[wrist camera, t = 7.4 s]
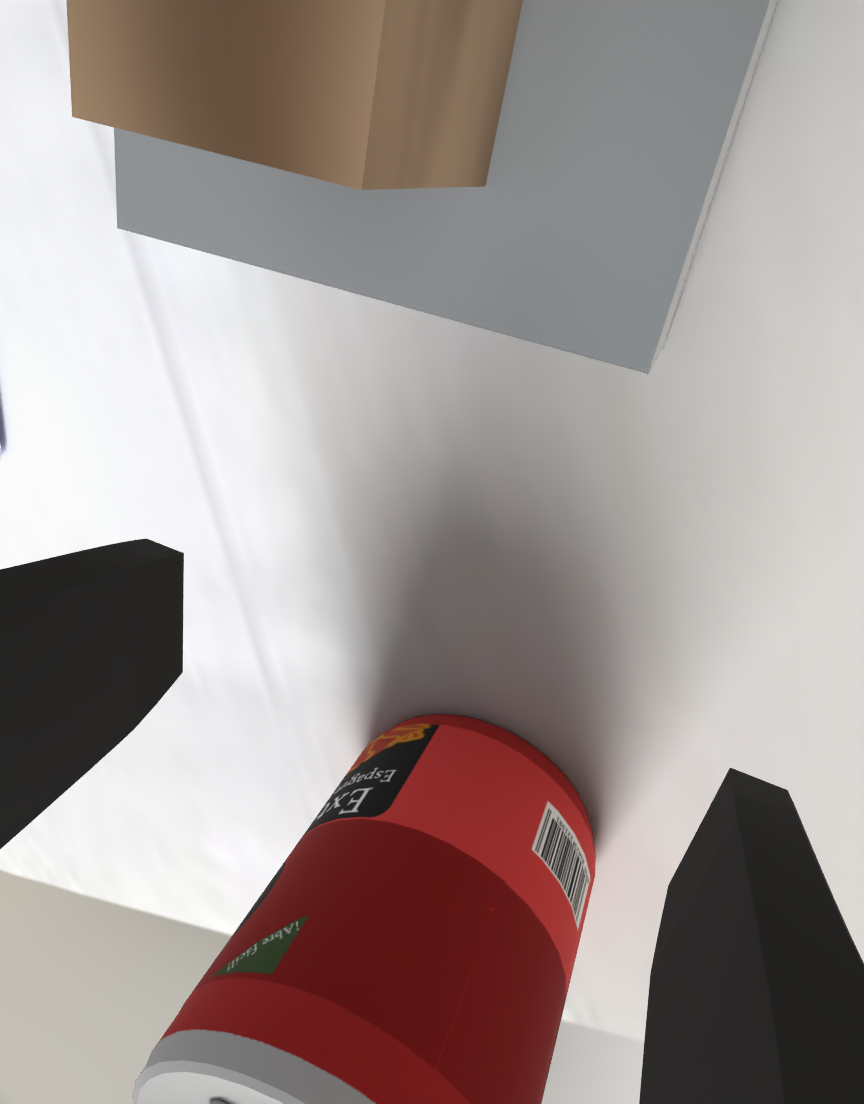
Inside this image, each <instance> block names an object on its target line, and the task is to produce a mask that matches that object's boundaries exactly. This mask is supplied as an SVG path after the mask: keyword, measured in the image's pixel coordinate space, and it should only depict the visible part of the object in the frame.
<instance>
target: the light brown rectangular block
mask: <svg viewBox="0 0 864 1104" xmlns="http://www.w3.org/2000/svg"><path fill="white" fill-rule="evenodd" d="M522 3H523V0H67V17H68V38H69V58H70V79H71V100H72V117H75V118H79V119H83V120H87V121H91V122H95V123H99V124H103V125H107V126H111V127H115V128H119V129H123V130H127V131H131V132H135V133H139V134H142V135H146V136H150V137H154V138H158V139H162V140H166V141H170V142H174V143H178V144H182V145H186V146H190V147H194V148H198V149H202V150H206V151H210V152H214V153H217V154H221V155H225V156H229V157H233V158H237V159H241V160H245V161H249V162H253V163H257V164H261V165H265V166H269V167H273V168H277V169H281V170H285V171H289V172H293V173H296V174H300V175H304V176H308V177H312V178H316V179H320V180H324V181H328V182H332V183H336V184H340V185H344V186H348V187H352V188H356V189H360V190H379V189H414V188H450V187H485V186H486V181H487V176H488V171H489V166H490V161H491V156H492V152H493V147H494V142H495V137H496V132H497V127H498V122H499V117H500V112H501V107H502V102H503V97H504V92H505V87H506V82H507V77H508V72H509V68H510V63H511V58H512V53H513V48H514V43H515V38H516V33H517V28H518V23H519V18H520V13H521V8H522Z"/></svg>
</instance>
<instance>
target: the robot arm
mask: <svg viewBox="0 0 864 1104" xmlns="http://www.w3.org/2000/svg"><path fill="white" fill-rule="evenodd" d="M1 455H2V452H1V444H0V460H1ZM183 569H184V553H182V552H179V551H177V550H174V549H171V548H169V547H166V546H164V545H161V544H159V543H156V542H154V541H151V540H149V539H140V540H134V541H127V542H121V543H116V544H111V545H106V546H101V547H97V548H92V549H88V550H83V551H79V552H74V553H70V554H66V555H61V556H57V557H53V558H49V559H44V560H40V561H36V562H31V563H27V564H23V565H19V566H14V567H10V568H6V569H1V570H0V849H1V848H2V847H3V846H4V845H6V844H7V843H8V842H9V841H10V840H11V839H12V838H13V837H15V836H16V835H17V834H18V833H19V832H20V831H21V830H22V829H24V828H25V827H26V826H27V825H28V824H29V823H30V822H31V821H33V820H34V819H35V818H36V817H37V816H38V815H39V814H40V813H42V812H43V811H44V810H45V809H46V808H47V807H48V806H49V805H51V804H52V803H53V802H54V801H55V800H56V799H57V798H58V797H60V796H61V795H62V794H63V793H64V792H65V791H66V790H67V789H69V788H70V787H71V786H72V785H73V784H74V783H75V782H76V781H78V780H79V779H80V778H81V777H82V776H83V775H84V774H85V773H87V772H88V771H89V770H90V769H91V768H92V767H93V766H94V765H95V764H97V763H98V762H99V761H100V760H101V759H102V758H103V757H104V756H105V755H106V754H108V753H109V752H110V751H111V750H112V749H113V748H114V747H115V746H116V745H117V744H119V743H120V742H121V741H122V740H123V739H124V738H125V737H126V736H127V735H128V734H129V733H130V732H131V731H133V730H134V729H135V727H136V726H137V725H138V724H139V723H140V722H141V721H142V720H143V718H144V717H145V716H146V715H147V714H148V713H149V712H150V711H151V709H152V708H153V707H154V706H155V705H156V704H157V703H158V701H159V700H160V699H161V698H162V697H163V695H164V694H165V693H166V692H167V691H168V689H169V688H170V687H171V686H172V685H173V683H174V682H175V681H176V680H177V678H178V677H179V676H180V675H181V674H182V672H183ZM640 1104H864V963H863V961H862V959H861V957H860V954H859V952H858V950H857V948H856V946H855V944H854V942H853V940H852V938H851V935H850V933H849V931H848V929H847V926H846V924H845V922H844V920H843V918H842V915H841V913H840V911H839V909H838V906H837V904H836V902H835V899H834V897H833V895H832V893H831V890H830V888H829V886H828V883H827V881H826V879H825V876H824V874H823V872H822V869H821V867H820V865H819V862H818V860H817V858H816V855H815V853H814V851H813V848H812V846H811V843H810V841H809V839H808V836H807V834H806V831H805V829H804V827H803V824H802V822H801V819H800V817H799V815H798V812H797V810H796V808H795V805H794V803H793V801H792V799H791V797H790V795H789V793H788V791H787V790H786V789H783V788H781V787H778V786H775V785H773V784H770V783H768V782H765V781H763V780H760V779H758V778H755V777H753V776H750V775H747V774H745V773H742V772H740V771H737V770H735V769H732V768H730V769H729V771H728V773H727V775H726V777H725V779H724V780H723V782H722V784H721V786H720V788H719V790H718V792H717V794H716V796H715V798H714V800H713V801H712V803H711V805H710V807H709V809H708V811H707V813H706V815H705V817H704V819H703V821H702V822H701V824H700V826H699V828H698V830H697V832H696V834H695V836H694V838H693V840H692V842H691V843H690V845H689V847H688V849H687V851H686V853H685V855H684V857H683V859H682V861H681V863H680V864H679V866H678V868H677V870H676V872H675V874H674V876H673V878H672V880H671V882H670V884H669V886H668V890H667V895H666V900H665V904H664V909H663V914H662V919H661V923H660V928H659V933H658V938H657V943H656V948H655V953H654V958H653V964H652V969H651V976H650V987H649V997H648V1009H647V1020H646V1031H645V1043H644V1055H643V1067H642V1078H641V1092H640Z"/></svg>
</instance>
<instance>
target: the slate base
mask: <svg viewBox="0 0 864 1104" xmlns="http://www.w3.org/2000/svg"><path fill="white" fill-rule="evenodd" d="M777 3H778V0H523V3H522V8H521V13H520V18H519V23H518V28H517V33H516V38H515V43H514V48H513V53H512V58H511V63H510V68H509V72H508V77H507V82H506V87H505V92H504V97H503V102H502V107H501V112H500V117H499V122H498V127H497V132H496V137H495V142H494V147H493V152H492V156H491V161H490V166H489V171H488V176H487V181H486V186H485V187H450V188H414V189H379V190H360V189H356V188H352V187H348V186H344V185H340V184H336V183H332V182H328V181H324V180H320V179H316V178H312V177H308V176H304V175H300V174H296V173H293V172H289V171H285V170H281V169H277V168H273V167H269V166H265V165H261V164H257V163H253V162H249V161H245V160H241V159H237V158H233V157H229V156H225V155H221V154H217V153H214V152H210V151H206V150H202V149H198V148H194V147H190V146H186V145H182V144H178V143H174V142H170V141H166V140H162V139H158V138H154V137H150V136H146V135H142V134H139V133H135V132H131V131H127V130H123V129H119V128H115V127H114V139H115V169H116V199H117V228H119V229H123V230H127V231H130V232H134V233H138V234H141V235H145V236H149V237H152V238H156V239H159V240H163V241H167V242H170V243H174V244H178V245H181V246H185V247H189V248H192V249H196V250H199V251H203V252H207V253H210V254H214V255H218V256H221V257H225V258H229V259H232V260H236V261H240V262H243V263H247V264H250V265H254V266H258V267H261V268H265V269H269V270H272V271H276V272H280V273H283V274H287V275H291V276H294V277H298V278H301V279H305V280H309V281H312V282H316V283H320V284H323V285H327V286H331V287H334V288H338V289H342V290H345V291H349V292H352V293H356V294H360V295H363V296H367V297H371V298H374V299H378V300H382V301H385V302H389V303H392V304H396V305H400V306H403V307H407V308H411V309H414V310H418V311H422V312H425V313H429V314H433V315H436V316H440V317H443V318H447V319H451V320H454V321H458V322H462V323H465V324H469V325H473V326H476V327H480V328H484V329H487V330H491V331H494V332H498V333H502V334H505V335H509V336H513V337H516V338H520V339H524V340H527V341H531V342H534V343H538V344H542V345H545V346H549V347H553V348H556V349H560V350H564V351H567V352H571V353H575V354H578V355H582V356H585V357H589V358H593V359H596V360H600V361H604V362H607V363H611V364H615V365H618V366H622V367H626V368H629V369H633V370H636V371H640V372H644V373H647V374H648V373H649V371H650V370H651V368H652V366H653V365H654V363H655V361H656V360H657V358H658V356H659V355H660V353H661V351H662V350H663V348H664V345H665V342H666V339H667V335H668V332H669V329H670V326H671V323H672V320H673V317H674V314H675V311H676V308H677V305H678V302H679V299H680V296H681V293H682V290H683V287H684V284H685V281H686V278H687V275H688V272H689V269H690V266H691V263H692V260H693V257H694V254H695V251H696V248H697V245H698V242H699V239H700V236H701V233H702V230H703V227H704V224H705V221H706V218H707V215H708V212H709V209H710V206H711V203H712V200H713V197H714V194H715V191H716V188H717V185H718V181H719V178H720V175H721V172H722V169H723V166H724V163H725V160H726V157H727V154H728V151H729V148H730V145H731V142H732V139H733V136H734V133H735V130H736V127H737V124H738V121H739V118H740V115H741V112H742V109H743V106H744V103H745V100H746V97H747V94H748V91H749V88H750V85H751V82H752V79H753V76H754V73H755V70H756V67H757V64H758V61H759V58H760V55H761V52H762V49H763V46H764V43H765V40H766V37H767V34H768V31H769V27H770V24H771V21H772V18H773V15H774V12H775V9H776V6H777Z"/></svg>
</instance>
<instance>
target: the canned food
mask: <svg viewBox="0 0 864 1104" xmlns="http://www.w3.org/2000/svg"><path fill="white" fill-rule="evenodd" d="M594 877H595V848H594V841H593V833H592V829H591V825H590V821H589V817H588V813H587V811H586V809H585V807H584V805H583V803H582V801H581V799H580V796H579V794H578V793H577V791H576V790H575V789H574V787H573V786H572V785H571V783H570V782H569V780H568V779H567V778H566V776H565V775H564V774H563V773H562V772H561V771H560V770H559V769H558V768H557V767H556V766H555V765H554V764H553V763H552V762H551V761H550V760H549V759H548V758H547V757H546V756H545V755H543V754H542V753H541V752H539V751H538V750H537V749H535V748H534V747H533V746H531V745H530V744H529V743H527V742H526V741H524V740H523V739H521V738H519V737H517V736H515V735H513V734H512V733H510V732H508V731H506V730H504V729H502V728H500V727H497V726H494V725H492V724H489V723H486V722H484V721H481V720H477V719H472V718H468V717H463V716H458V715H442V714H433V715H426V716H419V717H414V718H412V719H409V720H406V721H404V722H401V723H399V724H397V725H396V726H394V727H392V728H391V729H389V730H388V731H386V732H385V733H383V734H382V735H380V736H379V737H378V738H376V739H375V740H373V741H372V742H371V743H369V744H368V745H367V747H366V748H365V749H364V751H363V752H362V753H361V755H360V756H359V757H358V759H357V760H356V762H355V763H354V765H353V766H352V767H351V769H350V770H349V772H348V773H347V774H346V776H345V777H344V779H343V780H342V781H341V783H340V784H339V786H338V787H337V789H336V790H335V791H334V793H333V794H332V796H331V797H330V798H329V800H328V801H327V803H326V804H325V805H324V807H323V808H322V810H321V811H320V813H319V814H318V815H317V817H316V818H315V820H314V821H313V822H312V824H311V825H310V827H309V828H308V830H307V831H306V832H305V834H304V835H303V837H302V838H301V839H300V841H299V842H298V844H297V845H296V846H295V848H294V849H293V851H292V852H291V854H290V855H289V856H288V858H287V859H286V861H285V862H284V863H283V865H282V866H281V868H280V869H279V870H278V872H277V873H276V875H275V876H274V878H273V879H272V880H271V882H270V883H269V885H268V886H267V887H266V889H265V890H264V892H263V893H262V894H261V896H260V897H259V899H258V900H257V902H256V903H255V904H254V906H253V907H252V909H251V910H250V911H249V913H248V914H247V916H246V917H245V918H244V920H243V921H242V923H241V924H240V926H239V927H238V928H237V930H236V931H235V933H234V934H233V935H232V937H231V938H230V940H229V941H228V943H227V944H226V945H225V947H224V949H223V950H222V951H221V952H220V954H219V955H218V957H217V958H216V959H215V961H214V962H213V964H212V965H211V967H210V968H209V969H208V971H207V972H206V974H205V975H204V976H203V978H202V979H201V981H200V982H199V983H198V985H197V986H196V988H195V989H194V991H193V992H192V994H191V995H190V996H189V998H188V999H187V1000H186V1002H185V1003H184V1005H183V1007H182V1008H181V1010H180V1012H179V1013H178V1015H177V1016H176V1018H175V1019H174V1021H173V1022H172V1024H171V1025H170V1026H169V1028H168V1029H167V1031H166V1032H165V1034H164V1035H163V1037H162V1038H161V1039H160V1041H159V1042H158V1044H157V1045H156V1046H155V1048H154V1049H153V1051H152V1053H151V1055H150V1057H149V1060H148V1062H147V1064H146V1066H145V1068H144V1069H143V1071H142V1072H141V1074H140V1075H139V1076H138V1078H137V1079H136V1081H135V1086H134V1091H133V1102H134V1104H541V1102H542V1098H543V1094H544V1090H545V1085H546V1080H547V1077H548V1073H549V1068H550V1064H551V1060H552V1056H553V1051H554V1047H555V1043H556V1039H557V1034H558V1030H559V1026H560V1022H561V1017H562V1013H563V1009H564V1005H565V1000H566V996H567V992H568V988H569V983H570V979H571V975H572V971H573V966H574V962H575V958H576V954H577V949H578V945H579V941H580V937H581V932H582V928H583V924H584V920H585V915H586V911H587V907H588V903H589V898H590V894H591V890H592V886H593V881H594Z"/></svg>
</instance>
